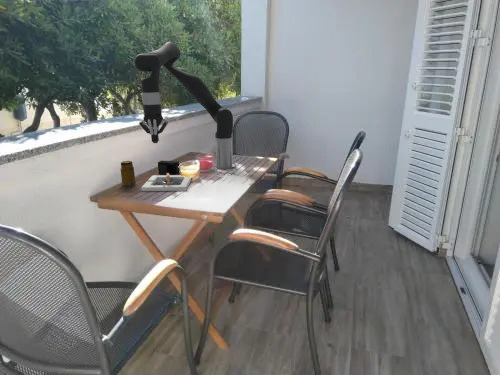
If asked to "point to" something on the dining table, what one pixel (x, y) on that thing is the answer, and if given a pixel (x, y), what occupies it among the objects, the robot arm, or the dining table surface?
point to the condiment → (127, 173)
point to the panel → (151, 187)
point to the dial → (168, 181)
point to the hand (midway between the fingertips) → (155, 142)
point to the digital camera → (168, 167)
